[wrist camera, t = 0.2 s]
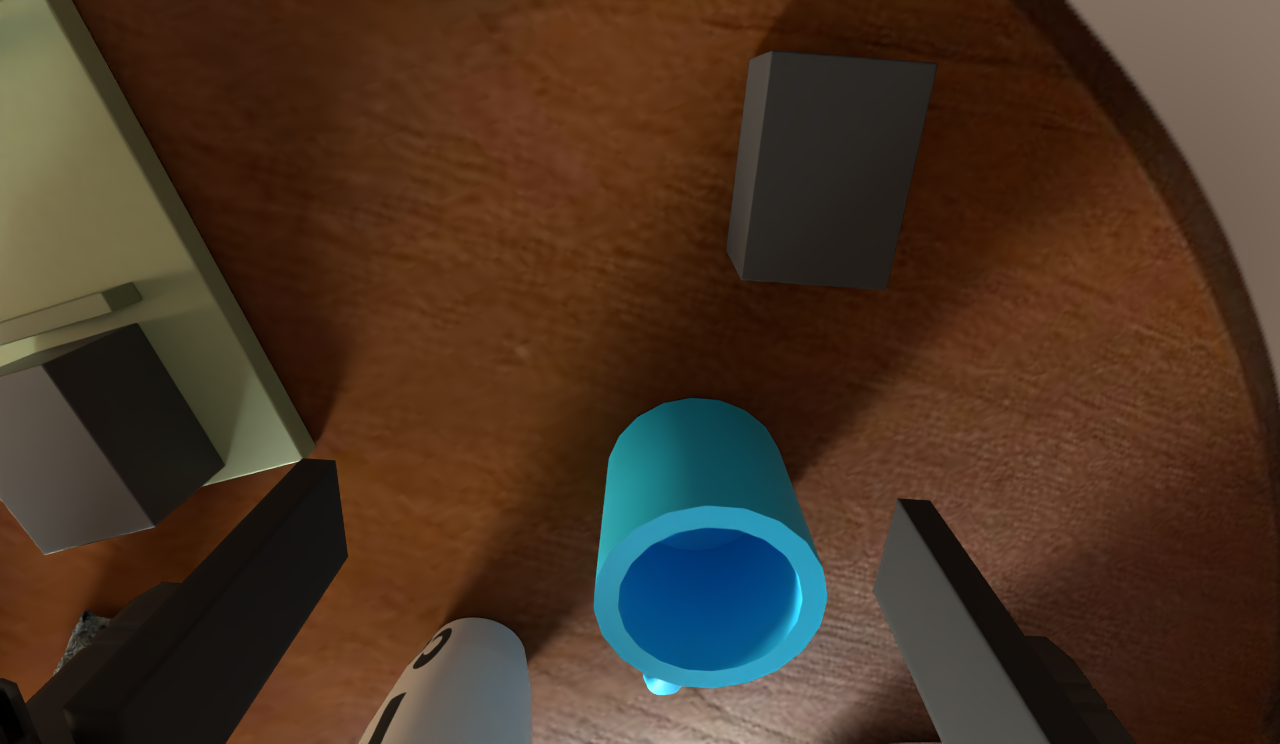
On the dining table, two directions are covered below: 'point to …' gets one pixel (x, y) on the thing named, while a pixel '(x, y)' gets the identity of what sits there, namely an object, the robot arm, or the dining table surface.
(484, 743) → the cup
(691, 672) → the mug
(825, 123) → the dark grey block
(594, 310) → the dining table surface
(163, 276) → the dock
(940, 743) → the planter
